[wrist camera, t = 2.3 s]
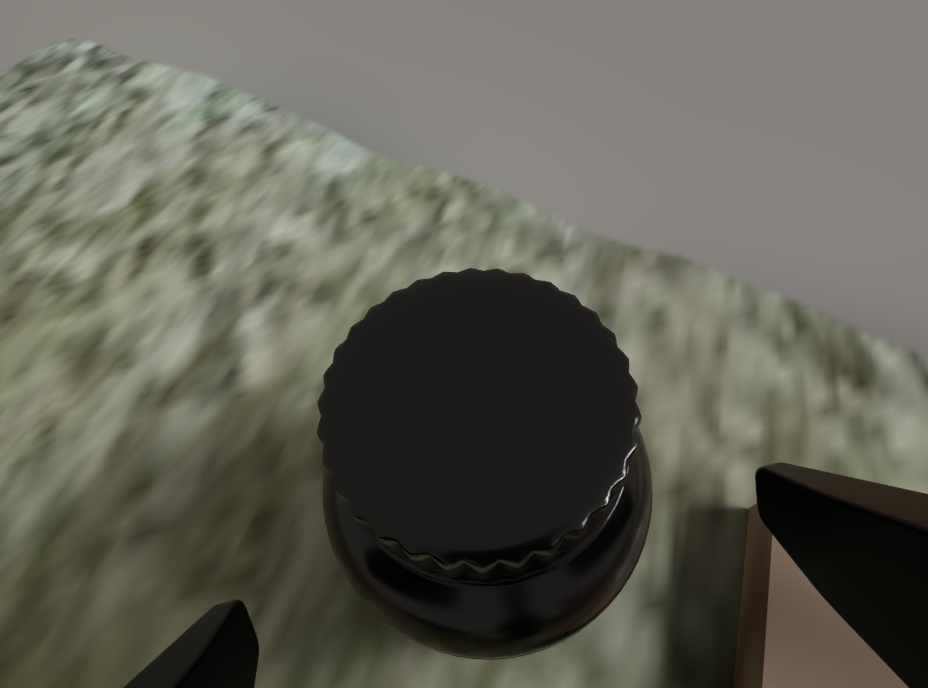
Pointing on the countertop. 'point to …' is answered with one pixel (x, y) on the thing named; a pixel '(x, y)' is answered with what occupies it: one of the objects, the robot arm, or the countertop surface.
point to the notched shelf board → (795, 628)
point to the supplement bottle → (484, 463)
